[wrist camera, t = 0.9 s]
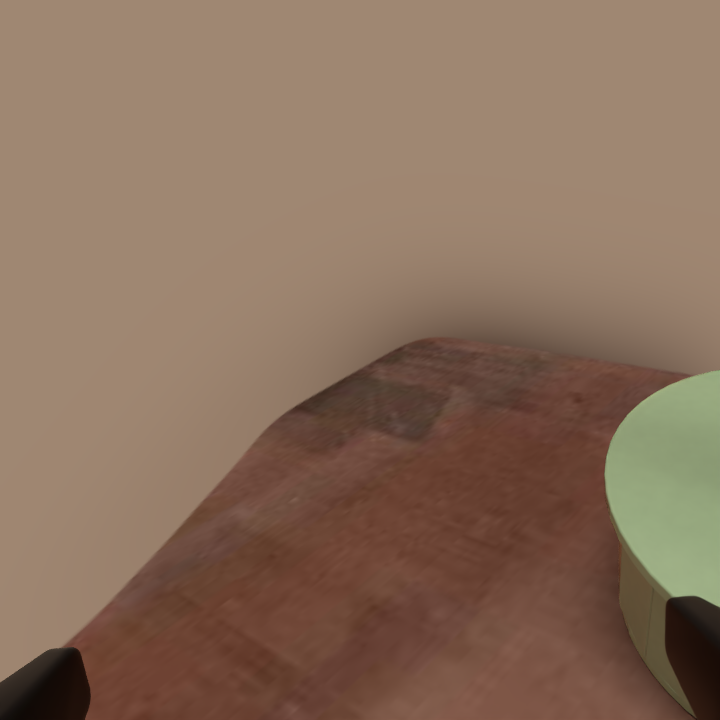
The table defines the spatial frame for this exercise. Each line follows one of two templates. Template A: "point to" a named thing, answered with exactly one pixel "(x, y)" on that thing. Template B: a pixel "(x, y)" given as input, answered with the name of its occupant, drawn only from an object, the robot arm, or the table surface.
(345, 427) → the table surface
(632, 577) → the green round open container
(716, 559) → the lid
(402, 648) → the table surface
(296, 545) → the table surface
